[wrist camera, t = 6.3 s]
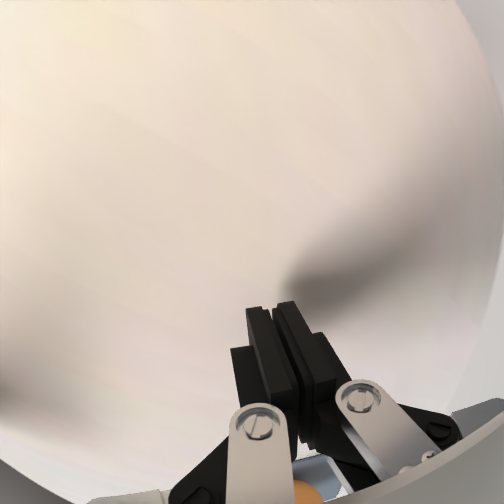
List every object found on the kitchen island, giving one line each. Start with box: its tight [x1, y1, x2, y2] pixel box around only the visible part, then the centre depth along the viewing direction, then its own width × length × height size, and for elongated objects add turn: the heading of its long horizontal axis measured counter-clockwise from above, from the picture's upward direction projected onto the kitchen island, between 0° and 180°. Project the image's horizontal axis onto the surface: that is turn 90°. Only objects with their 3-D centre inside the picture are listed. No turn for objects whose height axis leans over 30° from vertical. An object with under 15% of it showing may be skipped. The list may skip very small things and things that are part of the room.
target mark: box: [292, 454, 341, 501], centre depth 19 cm, size 12×12×1 cm
